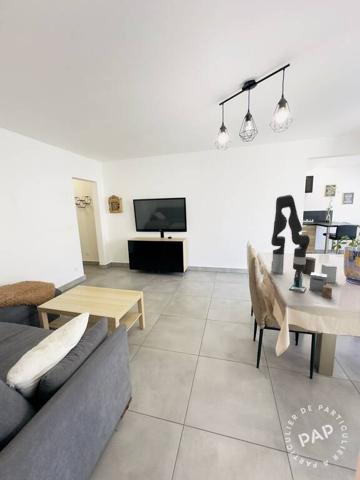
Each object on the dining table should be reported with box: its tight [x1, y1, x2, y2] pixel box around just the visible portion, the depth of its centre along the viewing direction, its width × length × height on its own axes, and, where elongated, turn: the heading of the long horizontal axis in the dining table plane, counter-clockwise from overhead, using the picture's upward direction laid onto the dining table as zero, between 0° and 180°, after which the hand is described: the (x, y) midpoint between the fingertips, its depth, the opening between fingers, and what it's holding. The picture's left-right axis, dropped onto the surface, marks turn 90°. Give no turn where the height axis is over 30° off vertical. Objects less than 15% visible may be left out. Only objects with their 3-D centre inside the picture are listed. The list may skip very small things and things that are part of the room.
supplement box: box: [320, 263, 338, 283], centre depth 152 cm, size 7×7×13 cm
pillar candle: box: [302, 256, 316, 275], centre depth 170 cm, size 10×10×15 cm
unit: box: [309, 272, 328, 293], centre depth 136 cm, size 9×8×11 cm
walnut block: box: [322, 284, 333, 300], centre depth 125 cm, size 4×4×7 cm
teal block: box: [293, 276, 304, 289], centre depth 137 cm, size 4×4×7 cm
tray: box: [288, 283, 307, 294], centre depth 138 cm, size 9×9×1 cm
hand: (297, 285), depth 138 cm, fingers closed on teal block, 4 cm apart
